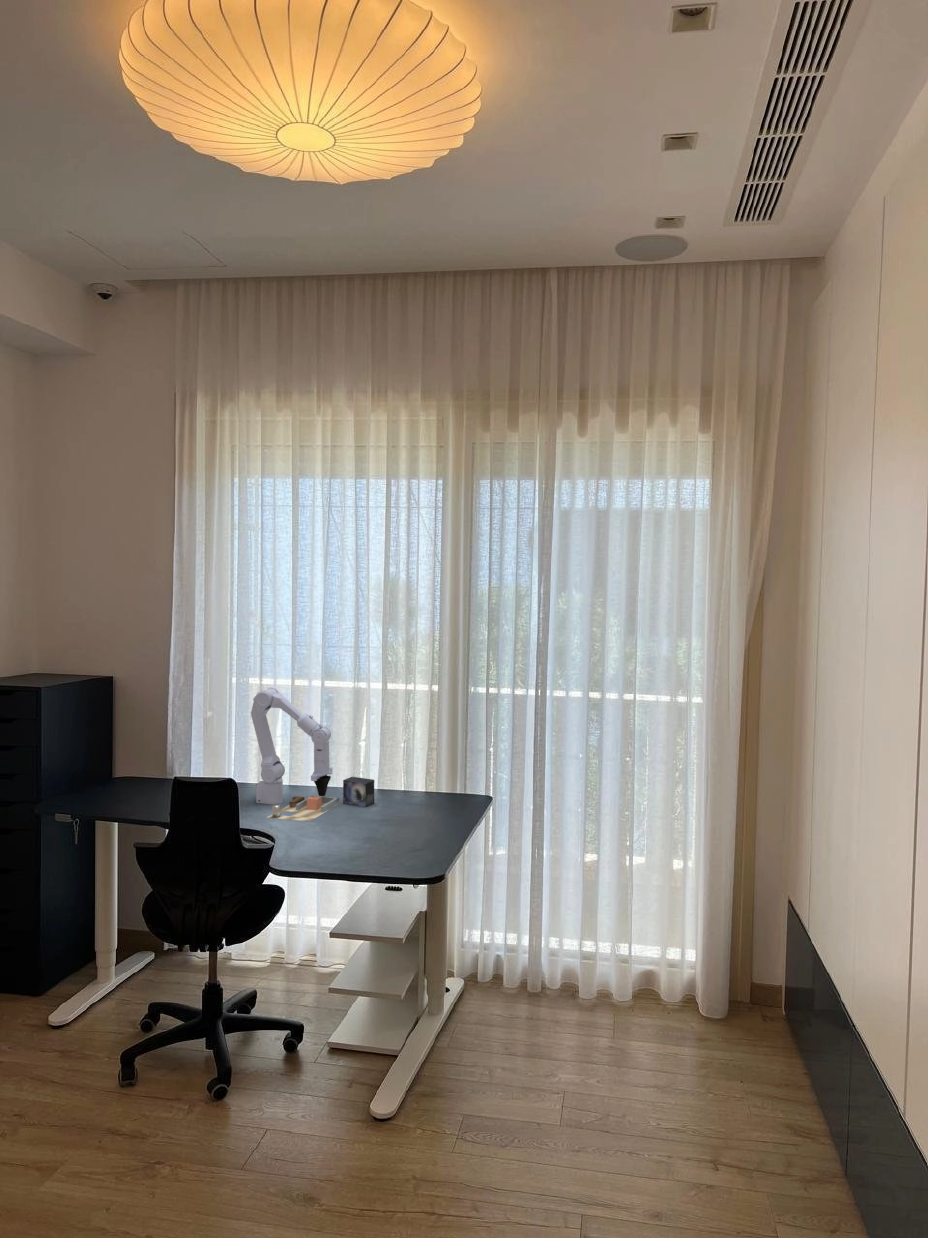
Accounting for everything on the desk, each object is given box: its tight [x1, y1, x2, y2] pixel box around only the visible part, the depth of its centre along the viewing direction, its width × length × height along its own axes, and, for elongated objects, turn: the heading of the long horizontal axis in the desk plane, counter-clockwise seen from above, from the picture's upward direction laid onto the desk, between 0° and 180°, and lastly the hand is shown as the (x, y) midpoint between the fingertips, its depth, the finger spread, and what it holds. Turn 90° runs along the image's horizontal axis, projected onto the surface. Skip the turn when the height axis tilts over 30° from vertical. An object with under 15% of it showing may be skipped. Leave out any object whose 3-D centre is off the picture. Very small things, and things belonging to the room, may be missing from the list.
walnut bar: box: [289, 795, 305, 807], centre depth 338 cm, size 4×8×2 cm, turn 164°
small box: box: [342, 776, 375, 808], centre depth 339 cm, size 11×6×10 cm, turn 62°
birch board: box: [266, 802, 341, 822], centre depth 330 cm, size 17×26×1 cm, turn 164°
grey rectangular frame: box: [296, 795, 340, 813], centre depth 335 cm, size 11×14×2 cm
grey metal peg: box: [271, 804, 282, 819], centre depth 321 cm, size 3×3×4 cm
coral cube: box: [306, 795, 323, 810], centre depth 332 cm, size 4×4×4 cm
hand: (322, 795), depth 338 cm, fingers closed
